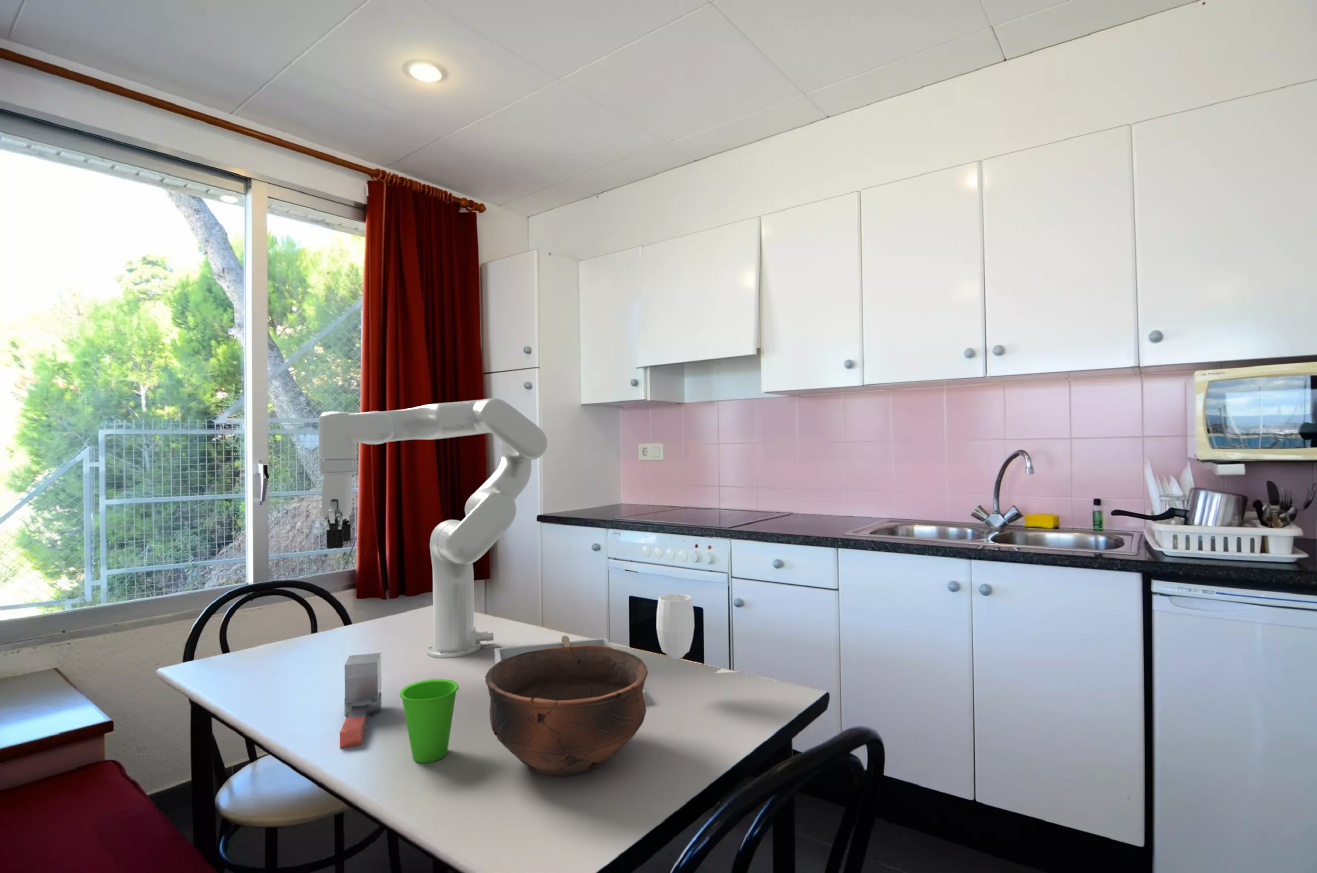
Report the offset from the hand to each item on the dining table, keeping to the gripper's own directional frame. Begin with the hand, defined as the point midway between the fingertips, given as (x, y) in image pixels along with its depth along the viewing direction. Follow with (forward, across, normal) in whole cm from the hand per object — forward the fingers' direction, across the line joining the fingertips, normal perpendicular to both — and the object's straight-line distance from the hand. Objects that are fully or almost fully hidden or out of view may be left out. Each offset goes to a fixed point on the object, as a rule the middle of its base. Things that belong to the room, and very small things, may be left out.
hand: (339, 544), depth 148 cm
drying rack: (+28, +23, +46) cm, 59 cm away
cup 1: (+28, +48, +21) cm, 60 cm away
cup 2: (+28, +41, +65) cm, 82 cm away
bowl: (+28, +57, +42) cm, 76 cm away
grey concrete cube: (+25, +25, +8) cm, 36 cm away
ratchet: (+28, +25, +8) cm, 39 cm away
